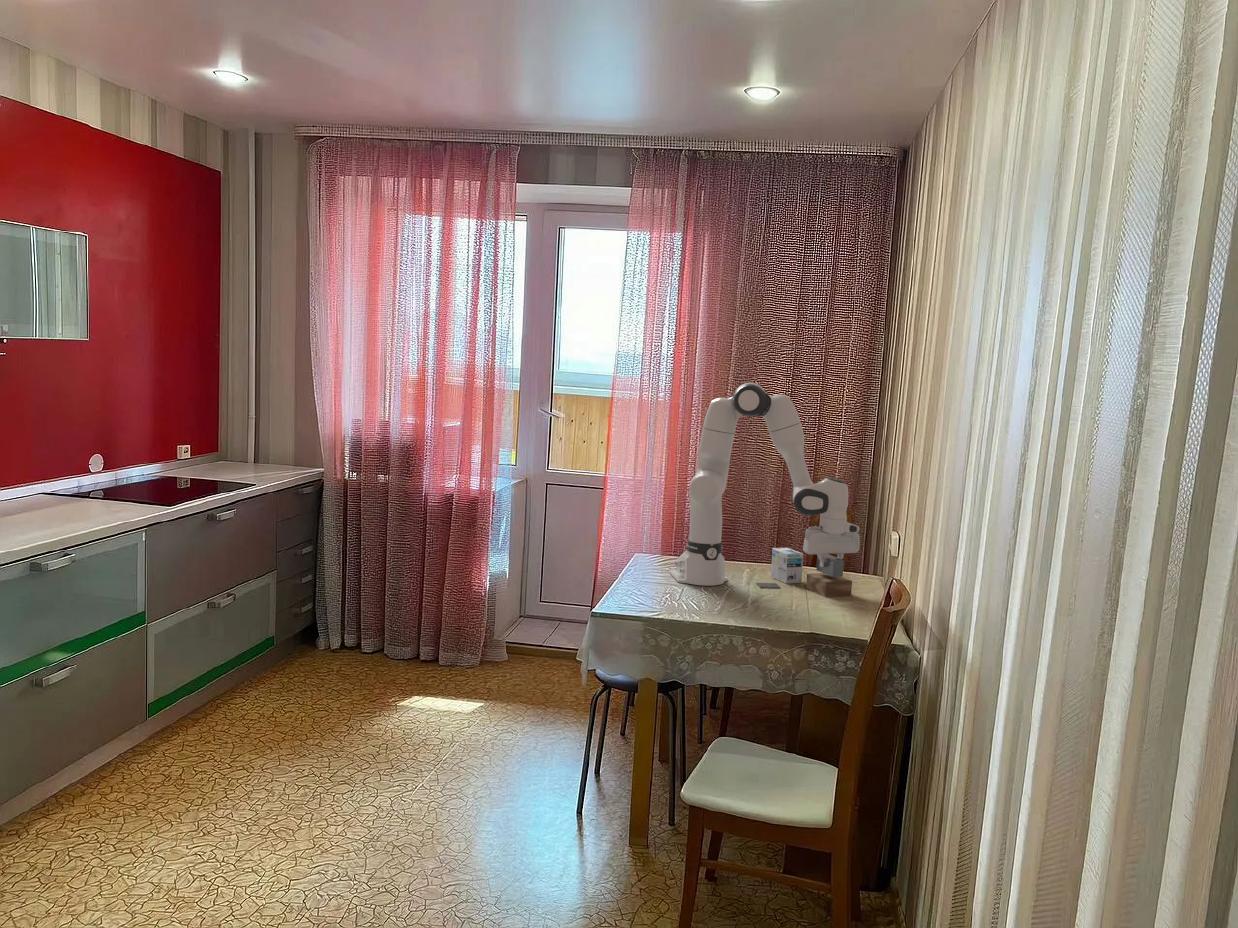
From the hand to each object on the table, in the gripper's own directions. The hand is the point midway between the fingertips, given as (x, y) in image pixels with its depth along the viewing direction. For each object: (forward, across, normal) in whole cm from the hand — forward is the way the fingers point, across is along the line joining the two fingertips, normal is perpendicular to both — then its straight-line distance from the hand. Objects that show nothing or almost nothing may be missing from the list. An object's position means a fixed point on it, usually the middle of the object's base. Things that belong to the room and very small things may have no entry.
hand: (829, 566), depth 314 cm
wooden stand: (+9, 0, 0) cm, 9 cm away
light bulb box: (+9, -6, +18) cm, 21 cm away
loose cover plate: (+9, -17, +11) cm, 22 cm away
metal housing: (+2, 0, 0) cm, 2 cm away
